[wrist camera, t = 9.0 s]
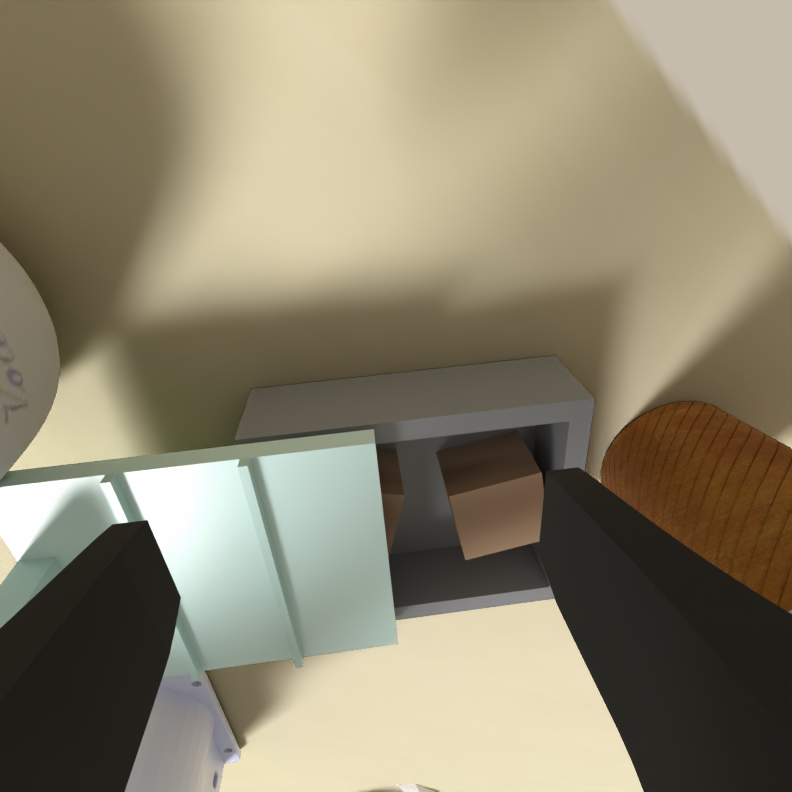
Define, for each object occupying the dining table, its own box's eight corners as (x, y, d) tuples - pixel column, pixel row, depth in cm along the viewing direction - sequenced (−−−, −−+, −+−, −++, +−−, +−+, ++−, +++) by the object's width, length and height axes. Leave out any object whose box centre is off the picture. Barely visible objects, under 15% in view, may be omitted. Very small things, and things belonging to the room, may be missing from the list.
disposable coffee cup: (523, 488, 23) (679, 797, 12) (682, 325, 19) (1076, 559, 9) (654, 558, 26) (863, 848, 16) (808, 429, 23) (1203, 688, 12)
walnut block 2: (527, 492, 22) (550, 538, 20) (451, 512, 22) (465, 560, 20) (517, 430, 20) (541, 472, 18) (436, 452, 21) (448, 496, 18)
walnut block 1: (381, 514, 22) (387, 563, 19) (302, 508, 21) (297, 558, 19) (396, 450, 20) (404, 495, 18) (311, 442, 20) (307, 487, 17)
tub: (555, 355, 20) (595, 398, 17) (537, 537, 24) (566, 596, 21) (251, 388, 19) (234, 440, 16) (296, 569, 24) (289, 634, 21)
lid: (373, 429, 16) (385, 538, 12) (396, 626, 21) (410, 753, 17) (-12, 473, 15) (-144, 606, 11) (105, 666, 20) (45, 808, 16)
